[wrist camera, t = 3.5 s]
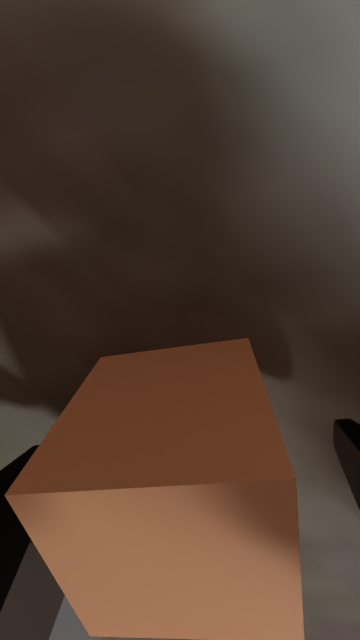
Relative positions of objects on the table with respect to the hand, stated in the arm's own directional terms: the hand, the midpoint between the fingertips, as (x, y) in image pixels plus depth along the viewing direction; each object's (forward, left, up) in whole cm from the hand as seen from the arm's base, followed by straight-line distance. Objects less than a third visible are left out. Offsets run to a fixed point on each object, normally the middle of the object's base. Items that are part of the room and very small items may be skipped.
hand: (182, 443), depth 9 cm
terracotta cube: (0, 0, -2) cm, 2 cm away
